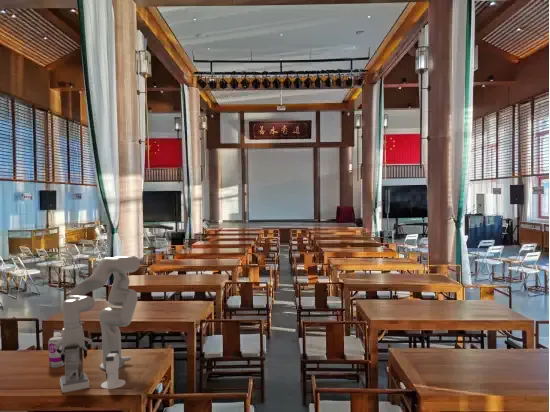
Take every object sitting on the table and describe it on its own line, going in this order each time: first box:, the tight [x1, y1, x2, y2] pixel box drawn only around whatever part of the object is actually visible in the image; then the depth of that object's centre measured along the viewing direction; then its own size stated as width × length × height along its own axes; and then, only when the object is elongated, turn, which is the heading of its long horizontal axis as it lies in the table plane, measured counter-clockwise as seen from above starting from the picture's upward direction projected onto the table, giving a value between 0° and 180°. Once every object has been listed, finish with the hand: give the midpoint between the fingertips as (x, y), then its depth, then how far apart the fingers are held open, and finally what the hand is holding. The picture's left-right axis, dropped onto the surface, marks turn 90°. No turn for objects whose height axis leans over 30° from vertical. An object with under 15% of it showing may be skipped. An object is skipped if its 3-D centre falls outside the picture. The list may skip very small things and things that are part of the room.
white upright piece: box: [100, 351, 126, 390], centre depth 245 cm, size 12×11×15 cm
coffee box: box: [64, 345, 84, 381], centre depth 244 cm, size 9×6×16 cm
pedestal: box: [59, 371, 90, 393], centre depth 244 cm, size 12×12×4 cm
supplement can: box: [47, 335, 65, 369], centre depth 275 cm, size 8×8×15 cm
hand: (74, 359), depth 244 cm, fingers open, 9 cm apart
